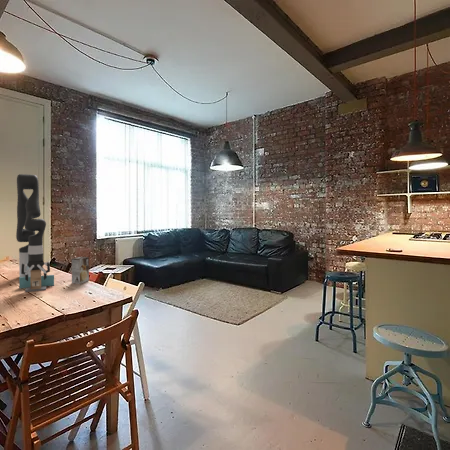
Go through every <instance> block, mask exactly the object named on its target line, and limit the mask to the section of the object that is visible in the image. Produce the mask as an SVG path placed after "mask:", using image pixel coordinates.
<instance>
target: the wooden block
mask: <svg viewBox="0 0 450 450" xmlns="http://www.w3.org/2000/svg"><path fill="white" fill-rule="evenodd" d="M30 272H31V289H41V276H42V271H41V269H40V270H31V271H30Z"/></svg>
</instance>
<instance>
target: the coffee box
mask: <svg viewBox="0 0 450 450" xmlns="http://www.w3.org/2000/svg"><path fill="white" fill-rule="evenodd" d="M89 263H90V257H89V256H77V257H73V258H71V284H78V285H81V284H83V283H86V282H89V280H90V264H89Z"/></svg>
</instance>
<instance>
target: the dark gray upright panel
mask: <svg viewBox="0 0 450 450" xmlns="http://www.w3.org/2000/svg"><path fill="white" fill-rule="evenodd" d="M46 290H47V286H41V289H31V287H27V288H25V290H24V291H25V293H28V292H31V293H32V292H41V291H46Z"/></svg>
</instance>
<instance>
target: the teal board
mask: <svg viewBox="0 0 450 450" xmlns="http://www.w3.org/2000/svg"><path fill="white" fill-rule="evenodd" d="M18 279H19V280H18V283H19V284H18V285H19V286H18V287H19V288H18V289H26V288H27V287H31V277H28V281H27V280H25V277H19V278H18ZM41 286H46V287H50V286H55V275H54V274H47V278H46V279H45V280H44V275H41Z"/></svg>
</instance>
